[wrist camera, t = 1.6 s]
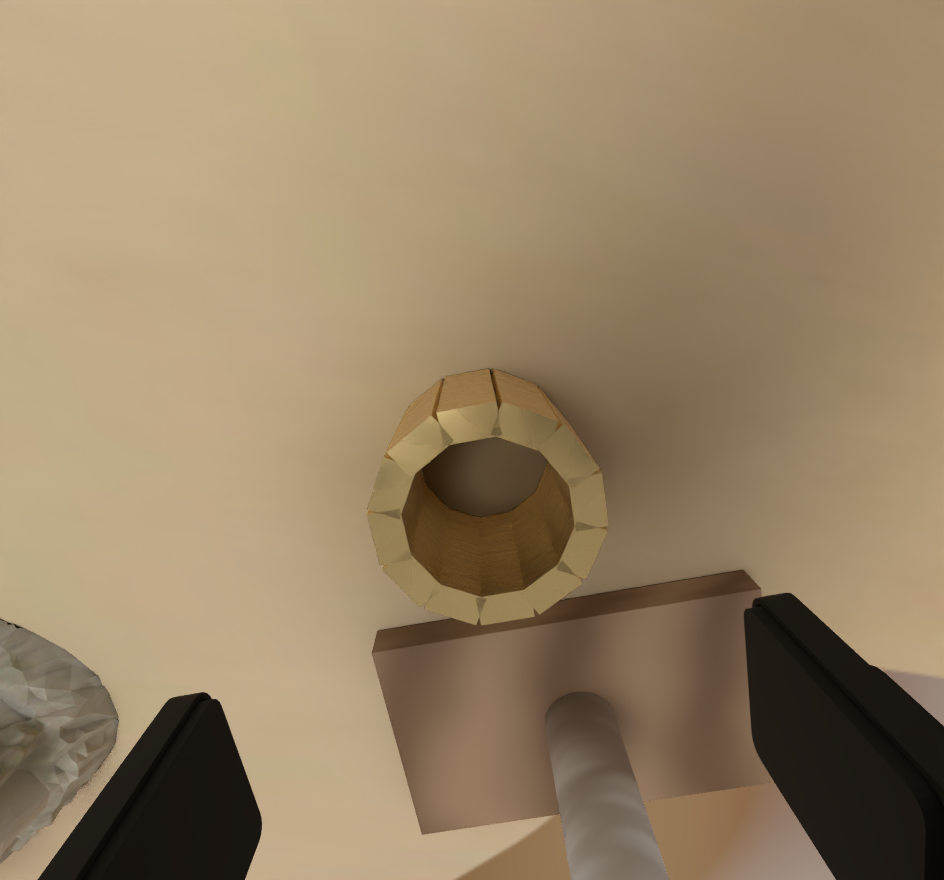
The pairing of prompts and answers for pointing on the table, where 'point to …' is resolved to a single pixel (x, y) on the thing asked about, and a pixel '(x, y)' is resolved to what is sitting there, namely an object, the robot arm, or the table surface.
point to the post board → (577, 715)
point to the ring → (496, 536)
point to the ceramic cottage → (46, 732)
